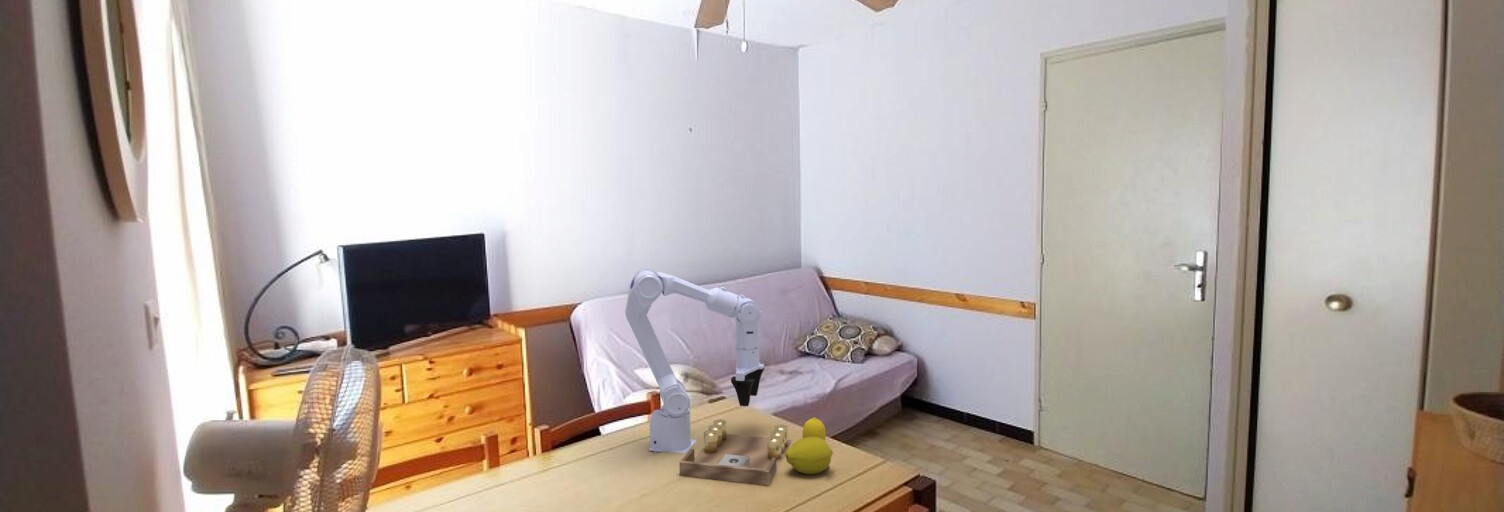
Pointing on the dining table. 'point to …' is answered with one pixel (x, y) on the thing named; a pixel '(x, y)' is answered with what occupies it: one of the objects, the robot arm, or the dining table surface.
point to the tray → (734, 445)
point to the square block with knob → (735, 461)
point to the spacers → (719, 434)
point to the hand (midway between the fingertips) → (748, 400)
